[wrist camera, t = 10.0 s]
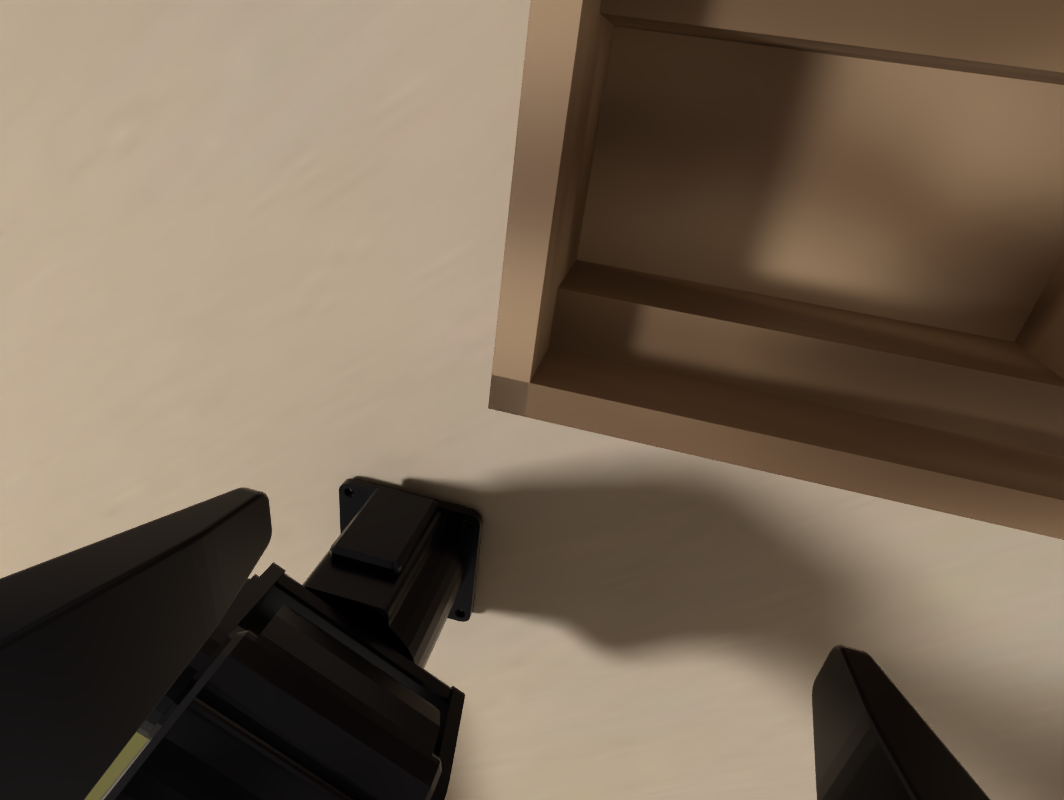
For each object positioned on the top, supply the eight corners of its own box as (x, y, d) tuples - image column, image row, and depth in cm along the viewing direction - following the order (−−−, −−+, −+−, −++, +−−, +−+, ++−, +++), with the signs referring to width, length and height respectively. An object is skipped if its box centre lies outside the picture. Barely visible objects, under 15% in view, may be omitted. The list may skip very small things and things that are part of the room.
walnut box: (991, 418, 19) (1114, 550, 14) (540, 325, 21) (488, 408, 16) (1253, -36, 14) (1647, -123, 8) (600, -102, 16) (552, -207, 10)
